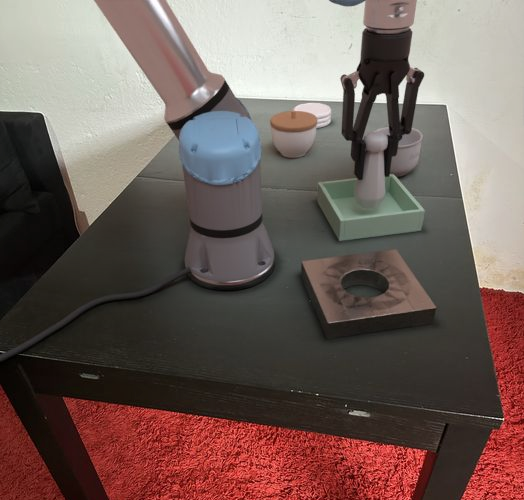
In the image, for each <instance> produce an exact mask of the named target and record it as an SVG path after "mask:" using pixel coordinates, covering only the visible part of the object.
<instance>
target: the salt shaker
mask: <svg viewBox="0 0 524 500" xmlns="http://www.w3.org/2000/svg"><path fill="white" fill-rule="evenodd" d="M363 141H364V142H365V143H366V149H365V159H364V169H363V179H362V180H358V179H357V182H356V185H355V188H354V196H355V199H356V202H357V204H358V205H359V206H361V207H362V208H367V209H374V208H376V207H377V206H379V205H380V203H381V202H382V200H383V198H384V197H385V173H384V150H385V149H386V148H387V145H388V137H387V135H386V134H384V133H382V132H374V131H370V132H367V133H366V134H364V136H363Z"/></svg>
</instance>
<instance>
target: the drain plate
mask: <svg viewBox="0 0 524 500" xmlns="http://www.w3.org/2000/svg"><path fill="white" fill-rule="evenodd" d="M300 266H301V268H300V278H301V280H302V283H303V284H304V287H305V290H306V292H307V294H308V297H309V300H310V301H311V304H312V306H313V309H314V311H315V313H316V316H317V319H318V321H319V323H320V325H321V328H322V331H323V333H324V335H325V338H326V340H331V339H337V338H343V337H345V338H346V337H350V336H357V335H363V334H364V335H365V334H370V333H371V334H372V333H377V332H385V331H391V330H397V329H404V328H410V327H413V328H414V327H418V326H419V327H420V326H426V325H433V323H434V319H435V315H436V311H437V306H436V305H435V304H434V302H433V301H432V298H430V296H429V294H428V293H427V292H426V290H425V289H424V287H423V286H422V285H421V283H420V282H419V280H418V279H417V277H416V276H415V274H414V273H413V271H412V270H411V269H410V267H409V266H408V264H407V263H406V261H405V260H404V258H403V257H402V256H401V253H399V251H398V250H397V249H396V248H393V249H386V250H378V251H371V252H363V253H355V254H348V255H340V256H331V257H323V258H316V259H308V260H301V265H300ZM353 286H368V287H372V288H374V289H377V290H379V291H380V292H382V294H379V295H377V296H370V297H364V296H357V295H354V294H353V293H349V292H348V291H347V290H345V289H347V288H350V287H353Z"/></svg>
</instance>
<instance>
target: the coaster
mask: <svg viewBox="0 0 524 500" xmlns="http://www.w3.org/2000/svg"><path fill="white" fill-rule="evenodd" d="M292 111H303V112H308V113H311V114H313V115H315V116H316V117H317V128H316V129H322V128H324V127H326V126H329V124H330V123H331V121H332V109H331V107H330V106H329V105H327V104H325V103H322V102H321V103H320V102H304V103H301V104H298V105H296V106H295V107H293V108H292Z"/></svg>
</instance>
